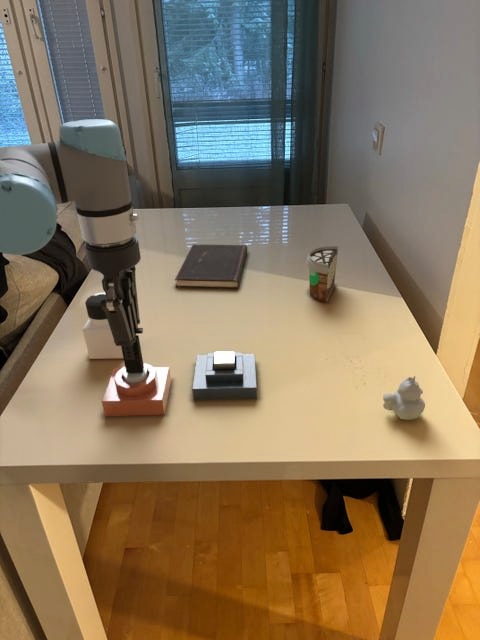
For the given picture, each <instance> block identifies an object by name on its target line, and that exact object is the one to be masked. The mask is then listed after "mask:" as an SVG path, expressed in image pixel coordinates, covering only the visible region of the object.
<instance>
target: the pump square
mask: <svg viewBox="0 0 480 640" xmlns="http://www.w3.org/2000/svg"><path fill="white" fill-rule="evenodd" d="M214 353H215V354H214V371H224V370H235V353H236V352H235V351H234V350H233V351H232V350H231V351H230V350H229V351H226V350H225V351H214Z"/></svg>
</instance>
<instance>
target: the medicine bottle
mask: <svg viewBox="0 0 480 640" xmlns="http://www.w3.org/2000/svg"><path fill="white" fill-rule="evenodd" d="M106 299H107V297H106V293H105V291H104V292H103V291H102V292H98V293H95V294H92V295H90V296H88V297H87V298H86V300H85V302H84V303H85V308H86V313H87V317H88V319H87V321H86V323H85V324H84V326H83V327H82V333H83V337H84V341H85V345H86V350H87V354H88V358H89V359H91V360H98V359H99V360H100V359H101V360H102V359H103V360H104V359H106V360H107V359H109V360H110V359H113V360H114V359H115V360H116V359H124V358H123V353H122V348H121V346H116V344H115V343H114V338H113V335H112V332H111V329H110V326H109V323H108V320H107V317H106V314H105V312H104V310H103V309H102V307H101V300H106Z"/></svg>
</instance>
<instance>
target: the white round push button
mask: <svg viewBox="0 0 480 640" xmlns="http://www.w3.org/2000/svg"><path fill="white" fill-rule="evenodd" d="M123 377H124V382H126V383H129V384H134V383H139V382H142V381H144V380H145V379H146V378H148V374H147V369H146V367H145V366H144V369H143V373H126V369H125V370H124V371H123Z"/></svg>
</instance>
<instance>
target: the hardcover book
mask: <svg viewBox="0 0 480 640" xmlns="http://www.w3.org/2000/svg"><path fill="white" fill-rule="evenodd" d="M247 253H248V246H247V245H246V244H197V243H196V244H192V245H191V248H190V249H189V251H188V252H187V254H186V257H185V259H184V261H183V263H182V264H181V267H180V268H179V271H178V273H177V274H176V277H175V279H174V281H176V285H175V288H188V289H189V288H191V289H229V290H230V289H231V290H234V289H235V290H237V289H238V288H239V286H240V283H241V282H240V281H241V277H242V274H243V268H244V265H245V262H246V258H247Z"/></svg>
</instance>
